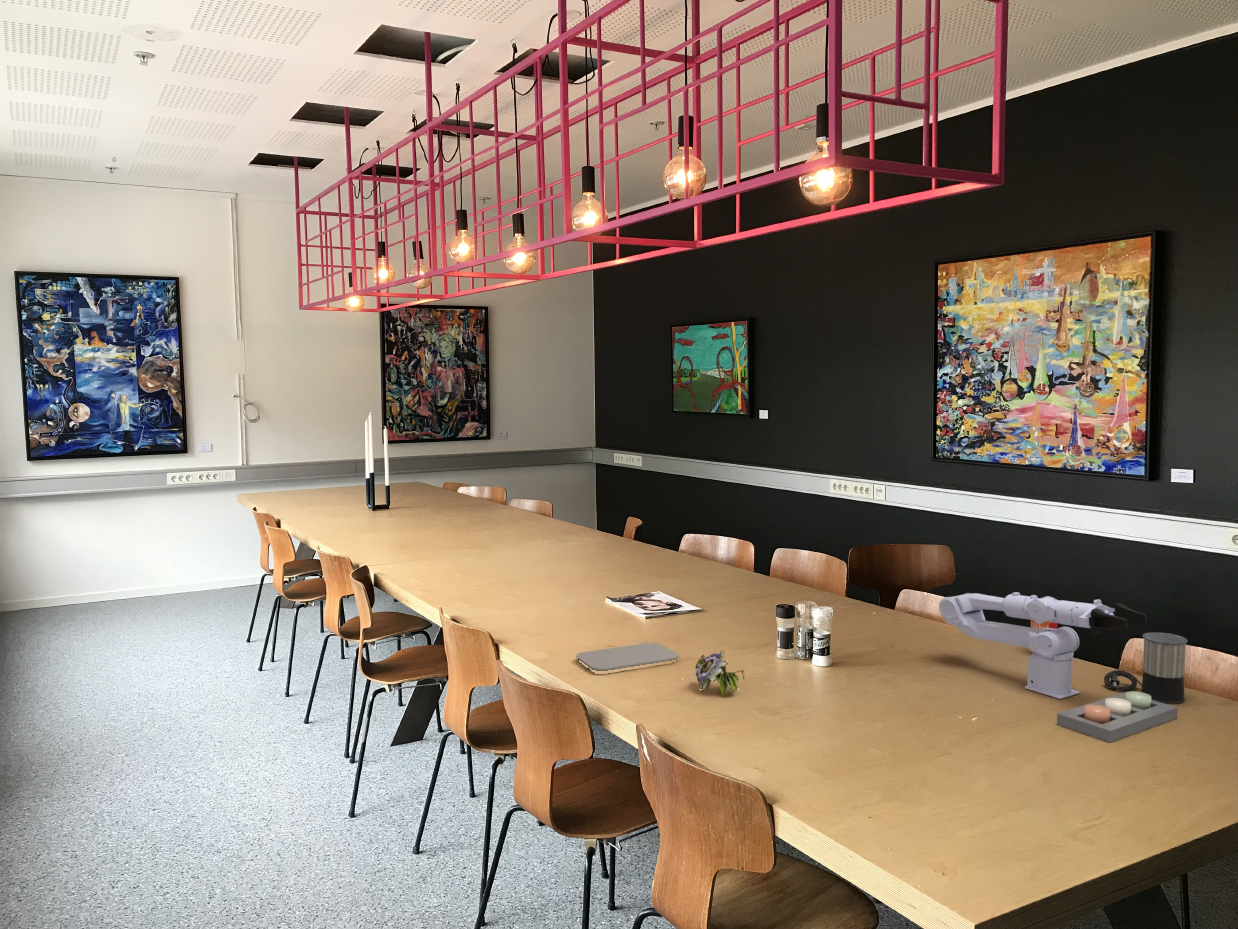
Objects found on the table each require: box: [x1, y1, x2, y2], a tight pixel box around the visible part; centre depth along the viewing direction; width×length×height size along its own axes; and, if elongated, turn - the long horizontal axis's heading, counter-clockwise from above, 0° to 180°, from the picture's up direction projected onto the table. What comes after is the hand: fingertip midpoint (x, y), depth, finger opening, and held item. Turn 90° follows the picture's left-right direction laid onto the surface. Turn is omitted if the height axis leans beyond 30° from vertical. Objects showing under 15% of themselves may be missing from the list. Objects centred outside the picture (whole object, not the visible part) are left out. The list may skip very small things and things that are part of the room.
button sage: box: [1125, 690, 1151, 710], centre depth 204 cm, size 5×5×3 cm
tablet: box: [575, 642, 680, 671], centre depth 248 cm, size 16×26×2 cm, turn 115°
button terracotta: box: [1084, 704, 1110, 724], centre depth 196 cm, size 5×5×3 cm
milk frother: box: [1103, 632, 1188, 705], centre depth 217 cm, size 14×16×15 cm
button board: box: [1056, 691, 1179, 743], centre depth 200 cm, size 12×26×2 cm, turn 121°
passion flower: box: [694, 649, 746, 697], centre depth 224 cm, size 11×11×12 cm
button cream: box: [1105, 697, 1131, 717], centre depth 200 cm, size 5×5×3 cm
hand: (1136, 622), depth 201 cm, fingers open, 7 cm apart
